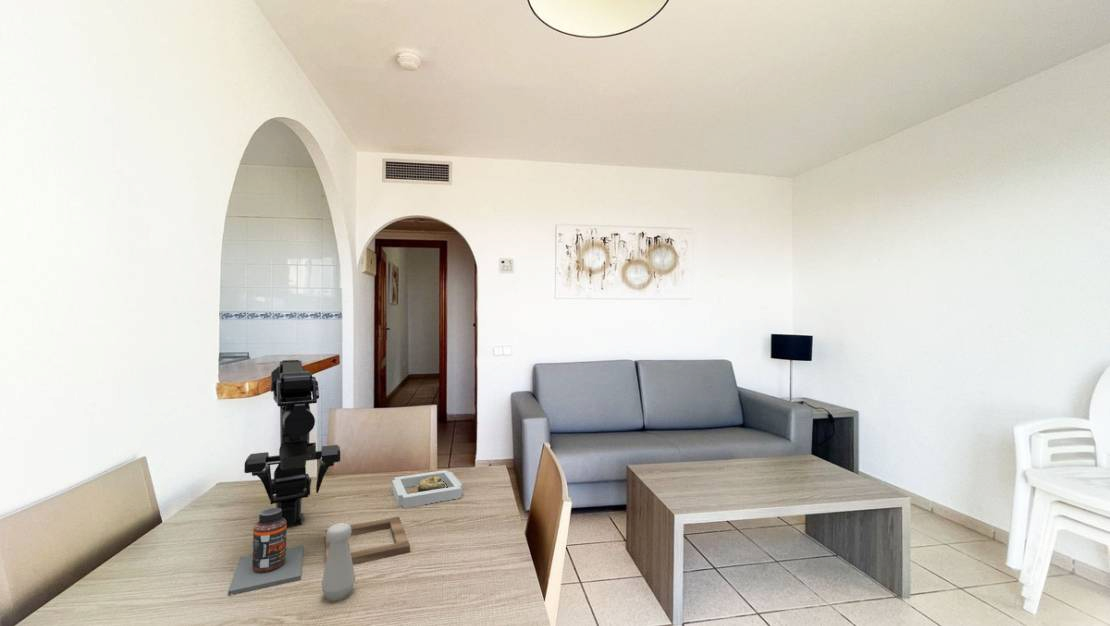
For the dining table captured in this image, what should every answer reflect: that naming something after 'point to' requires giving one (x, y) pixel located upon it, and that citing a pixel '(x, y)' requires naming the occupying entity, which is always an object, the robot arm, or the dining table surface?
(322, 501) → the dining table surface
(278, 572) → the grey flat slab
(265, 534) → the supplement bottle
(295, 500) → the robot arm
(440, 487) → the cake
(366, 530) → the frame
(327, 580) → the salt shaker
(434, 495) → the grey bread rim
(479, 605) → the dining table surface
